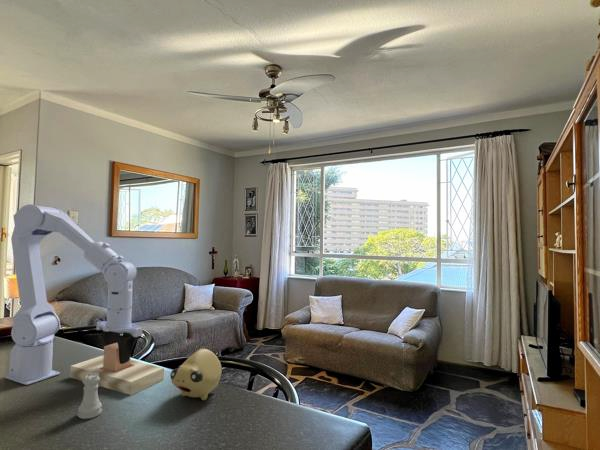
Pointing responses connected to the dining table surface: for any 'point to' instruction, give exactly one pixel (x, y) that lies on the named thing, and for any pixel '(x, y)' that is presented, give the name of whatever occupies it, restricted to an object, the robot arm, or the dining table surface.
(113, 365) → the square peg
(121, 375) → the rail
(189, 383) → the yellow toy creature
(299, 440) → the dining table surface
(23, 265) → the robot arm
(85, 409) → the rook chess piece
